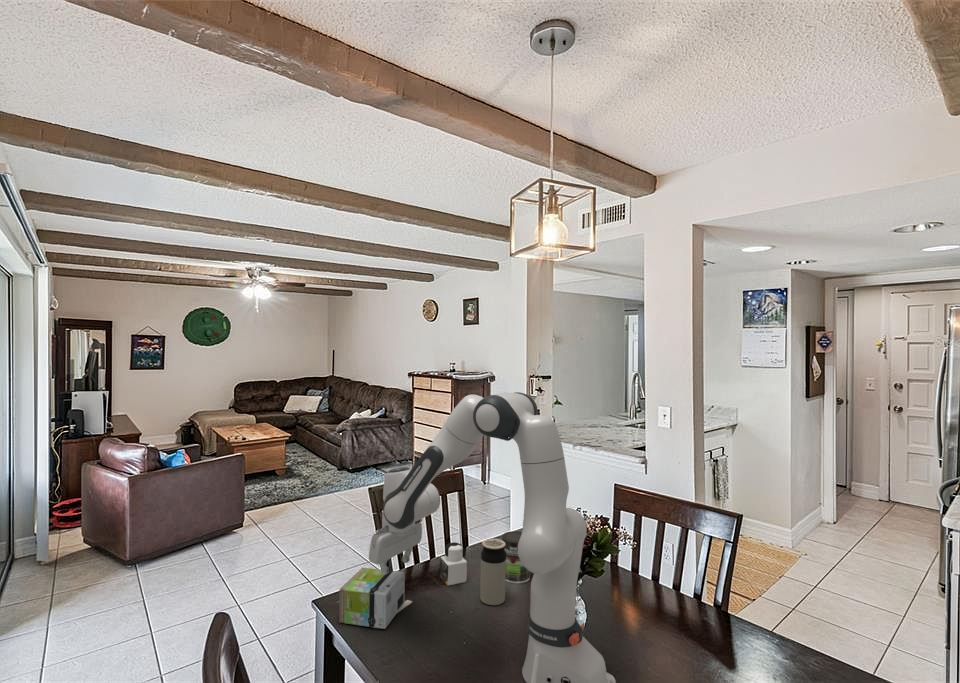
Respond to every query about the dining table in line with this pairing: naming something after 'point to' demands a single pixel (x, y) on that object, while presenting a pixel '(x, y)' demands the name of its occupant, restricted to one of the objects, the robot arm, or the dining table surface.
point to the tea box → (372, 598)
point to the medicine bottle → (453, 565)
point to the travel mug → (493, 572)
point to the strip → (403, 606)
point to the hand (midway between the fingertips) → (395, 567)
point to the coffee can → (514, 559)
